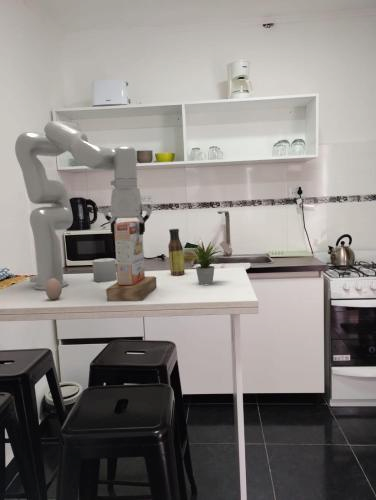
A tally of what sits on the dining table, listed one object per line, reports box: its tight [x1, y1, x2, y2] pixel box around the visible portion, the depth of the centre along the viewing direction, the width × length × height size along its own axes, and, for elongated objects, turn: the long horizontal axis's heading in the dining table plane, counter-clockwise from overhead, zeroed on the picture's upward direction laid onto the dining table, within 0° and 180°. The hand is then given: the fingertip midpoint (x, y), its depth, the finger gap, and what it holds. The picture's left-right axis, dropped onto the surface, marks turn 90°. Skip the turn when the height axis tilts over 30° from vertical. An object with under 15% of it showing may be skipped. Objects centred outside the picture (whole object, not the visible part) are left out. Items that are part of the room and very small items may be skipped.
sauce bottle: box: [167, 228, 186, 276], centre depth 177 cm, size 6×6×20 cm
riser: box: [105, 275, 158, 302], centre depth 144 cm, size 12×20×4 cm, turn 171°
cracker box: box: [114, 220, 146, 285], centre depth 143 cm, size 14×6×21 cm, turn 169°
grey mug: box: [92, 257, 117, 283], centre depth 175 cm, size 9×13×9 cm
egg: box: [45, 278, 63, 301], centre depth 141 cm, size 5×5×7 cm
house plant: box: [189, 241, 225, 286], centre depth 154 cm, size 14×14×16 cm
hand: (128, 234), depth 142 cm, fingers open, 9 cm apart
